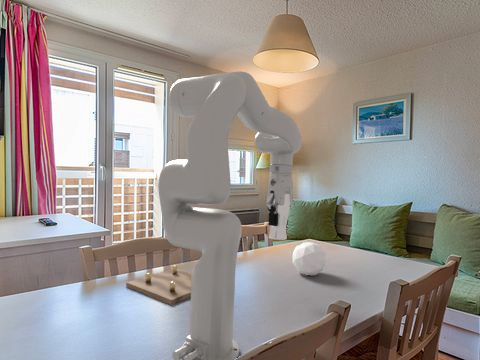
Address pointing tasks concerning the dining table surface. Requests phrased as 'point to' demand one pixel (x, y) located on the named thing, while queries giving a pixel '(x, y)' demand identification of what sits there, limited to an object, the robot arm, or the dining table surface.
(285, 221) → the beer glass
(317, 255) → the geodesic sphere
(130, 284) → the walnut board
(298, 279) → the dining table surface
